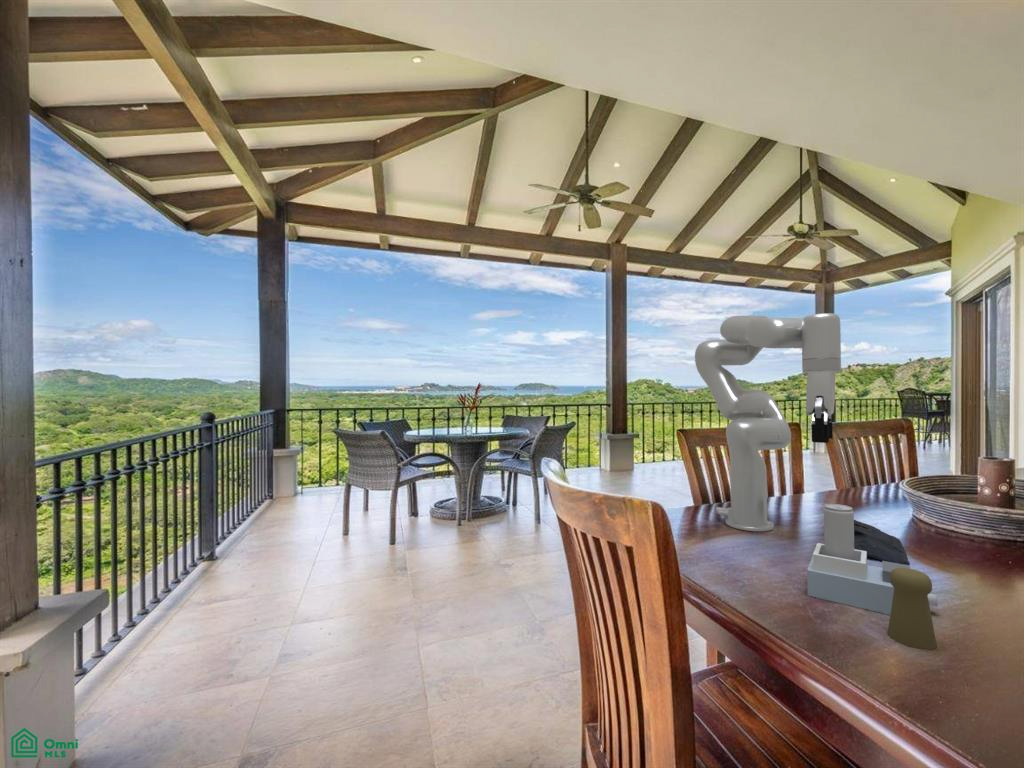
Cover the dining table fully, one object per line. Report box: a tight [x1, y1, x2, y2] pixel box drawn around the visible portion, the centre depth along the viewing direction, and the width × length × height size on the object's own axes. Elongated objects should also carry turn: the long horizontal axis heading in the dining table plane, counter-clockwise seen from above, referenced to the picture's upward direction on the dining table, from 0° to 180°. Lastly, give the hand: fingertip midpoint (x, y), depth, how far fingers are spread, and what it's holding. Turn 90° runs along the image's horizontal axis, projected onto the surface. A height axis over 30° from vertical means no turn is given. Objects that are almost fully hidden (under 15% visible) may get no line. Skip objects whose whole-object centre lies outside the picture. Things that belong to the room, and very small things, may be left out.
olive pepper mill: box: [887, 568, 938, 650], centre depth 74 cm, size 6×6×11 cm
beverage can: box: [823, 503, 855, 560], centre depth 91 cm, size 5×5×12 cm
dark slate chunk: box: [854, 519, 911, 566], centre depth 116 cm, size 15×22×5 cm
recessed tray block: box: [806, 542, 939, 616], centre depth 88 cm, size 19×10×8 cm, turn 51°
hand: (822, 440), depth 107 cm, fingers open, 9 cm apart
